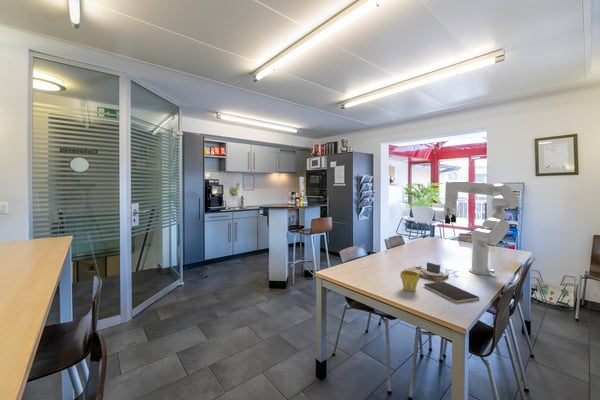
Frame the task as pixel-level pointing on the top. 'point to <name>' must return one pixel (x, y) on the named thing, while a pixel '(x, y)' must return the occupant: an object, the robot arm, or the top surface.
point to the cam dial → (433, 270)
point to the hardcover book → (451, 292)
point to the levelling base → (421, 274)
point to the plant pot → (409, 280)
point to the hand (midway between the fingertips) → (450, 223)
